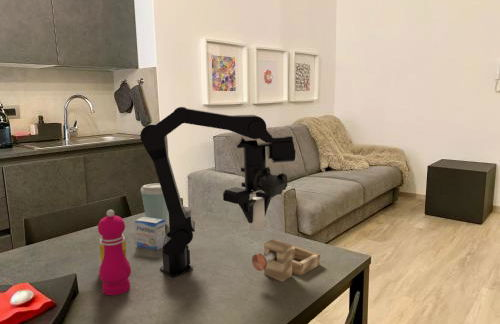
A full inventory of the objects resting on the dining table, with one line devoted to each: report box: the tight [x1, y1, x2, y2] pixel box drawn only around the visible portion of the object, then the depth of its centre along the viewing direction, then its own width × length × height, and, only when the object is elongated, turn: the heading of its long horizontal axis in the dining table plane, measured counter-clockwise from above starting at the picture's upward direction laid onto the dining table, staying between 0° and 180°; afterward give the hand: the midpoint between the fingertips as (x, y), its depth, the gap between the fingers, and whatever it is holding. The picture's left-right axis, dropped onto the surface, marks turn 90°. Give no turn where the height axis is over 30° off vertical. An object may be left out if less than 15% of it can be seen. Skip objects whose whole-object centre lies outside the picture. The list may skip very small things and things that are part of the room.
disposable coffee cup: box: [140, 183, 169, 226], centre depth 137 cm, size 11×11×15 cm
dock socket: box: [263, 238, 321, 283], centre depth 103 cm, size 14×9×8 cm, turn 136°
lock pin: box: [251, 251, 277, 272], centre depth 96 cm, size 8×4×4 cm, turn 136°
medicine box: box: [134, 216, 166, 251], centre depth 119 cm, size 8×4×9 cm, turn 68°
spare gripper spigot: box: [247, 196, 266, 232], centre depth 104 cm, size 4×4×8 cm
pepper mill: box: [97, 209, 132, 296], centre depth 92 cm, size 7×7×20 cm
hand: (256, 220), depth 104 cm, fingers closed on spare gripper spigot, 4 cm apart
